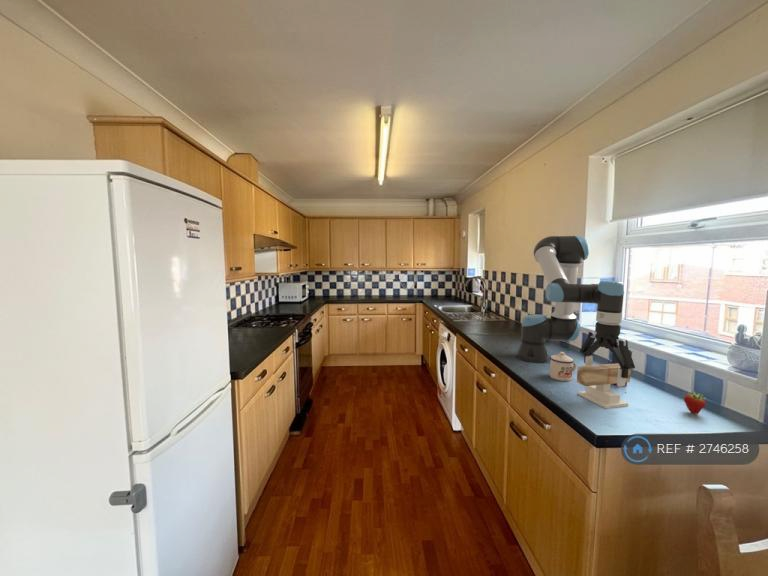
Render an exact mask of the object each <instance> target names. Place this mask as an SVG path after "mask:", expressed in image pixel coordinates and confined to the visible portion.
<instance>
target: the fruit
mask: <svg viewBox="0 0 768 576" xmlns="http://www.w3.org/2000/svg"><path fill="white" fill-rule="evenodd" d="M703 396H704V394H703V393H702V394H701V392H698V393H696V391H695V390H692V391H691V392H687V394H686V395H685V396H684V398H683V400H684V403H685V406H686V408H687V410H688V411H689V412H690V413H691V414H694V415H698V414H700V412H701V411H702V409H703V408H704V407H706V404H707V402H706V399H707V398H706V397H703Z"/></svg>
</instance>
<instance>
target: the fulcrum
mask: <svg viewBox="0 0 768 576" xmlns="http://www.w3.org/2000/svg"><path fill="white" fill-rule="evenodd" d="M611 385H612V384H605V385H594V386H585V387H586V388H585V389H586V390H583V391H582V390H581V391H577V395H579V396H581V397H582V398H584V399H586V400H588V401H590V402H592V403H594V404H596V405H598V406H600V407H602V408H603V409H612V408H613V409H614V408H623V407H628V406H629V402H627V401H624V400H622V399H621V395H620V394H619V393H617V392H615V391H613V390H611Z"/></svg>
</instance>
